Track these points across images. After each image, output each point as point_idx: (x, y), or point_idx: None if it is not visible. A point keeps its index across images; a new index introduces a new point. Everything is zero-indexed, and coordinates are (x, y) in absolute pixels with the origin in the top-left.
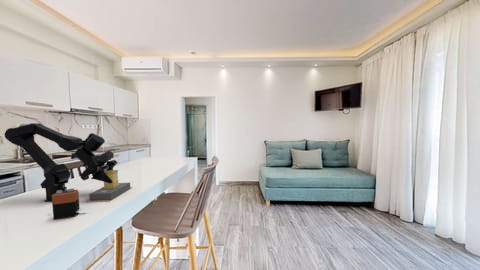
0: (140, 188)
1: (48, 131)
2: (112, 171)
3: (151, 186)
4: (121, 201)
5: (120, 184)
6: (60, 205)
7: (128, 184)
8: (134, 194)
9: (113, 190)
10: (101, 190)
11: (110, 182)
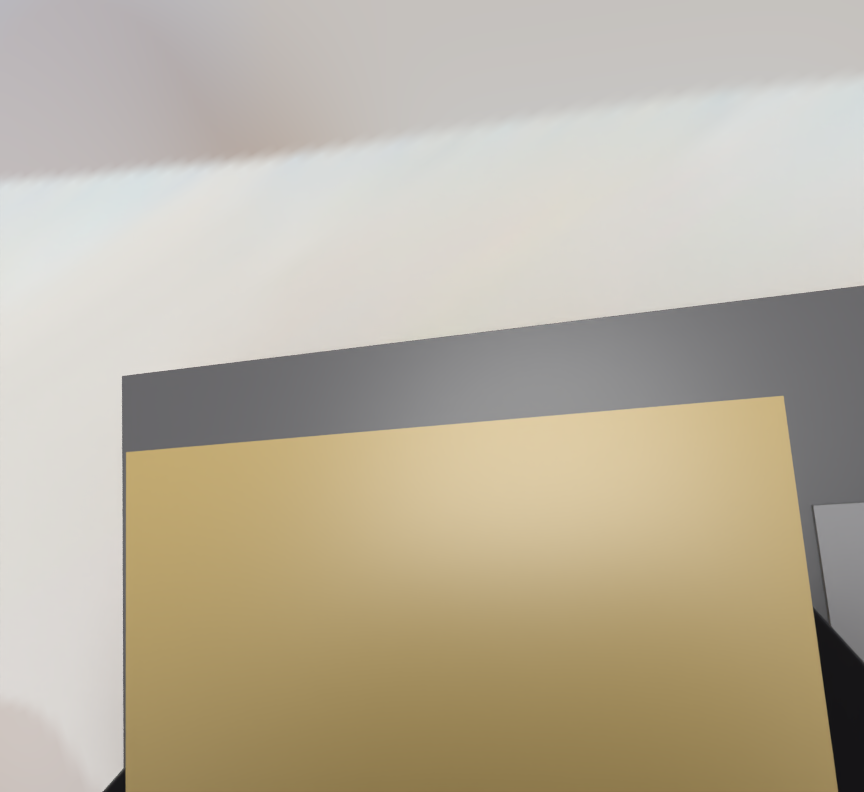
0: (92, 316)
1: None
2: (704, 486)
3: (5, 182)
4: (798, 206)
5: None
6: None
7: (211, 371)
8: (411, 213)
9: (813, 360)
10: None
11: None
